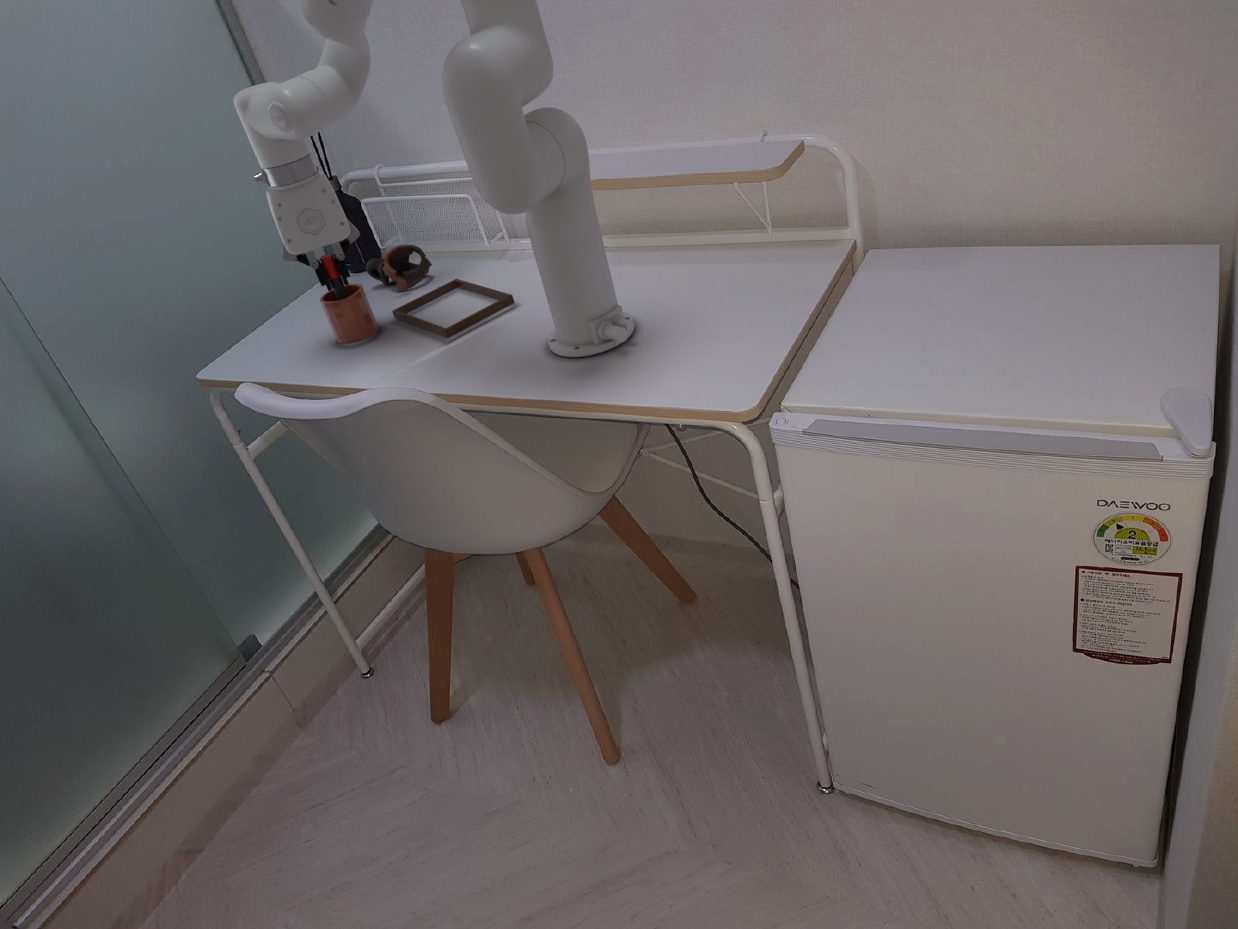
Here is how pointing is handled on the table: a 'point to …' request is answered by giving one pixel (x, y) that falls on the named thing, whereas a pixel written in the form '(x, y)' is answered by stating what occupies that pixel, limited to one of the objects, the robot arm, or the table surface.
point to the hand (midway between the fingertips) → (337, 284)
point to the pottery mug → (399, 267)
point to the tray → (463, 324)
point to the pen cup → (350, 314)
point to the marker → (334, 276)
